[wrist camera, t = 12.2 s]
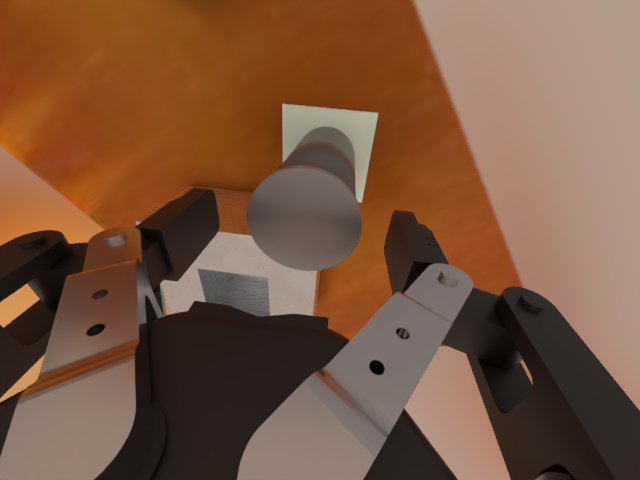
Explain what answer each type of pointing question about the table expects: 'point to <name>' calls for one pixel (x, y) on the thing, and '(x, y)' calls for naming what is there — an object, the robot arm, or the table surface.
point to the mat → (348, 121)
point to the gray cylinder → (309, 204)
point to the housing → (239, 269)
